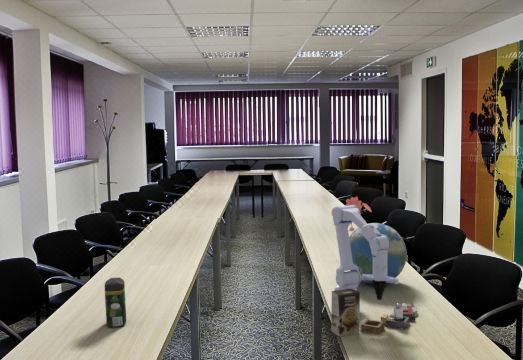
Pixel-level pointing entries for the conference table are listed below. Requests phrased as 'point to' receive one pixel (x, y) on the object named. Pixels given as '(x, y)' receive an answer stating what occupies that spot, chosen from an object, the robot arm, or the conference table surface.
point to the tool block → (397, 322)
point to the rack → (372, 326)
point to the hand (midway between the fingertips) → (379, 299)
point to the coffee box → (345, 312)
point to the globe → (365, 258)
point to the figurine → (358, 204)
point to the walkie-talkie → (409, 311)
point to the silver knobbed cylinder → (398, 312)
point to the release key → (384, 317)
